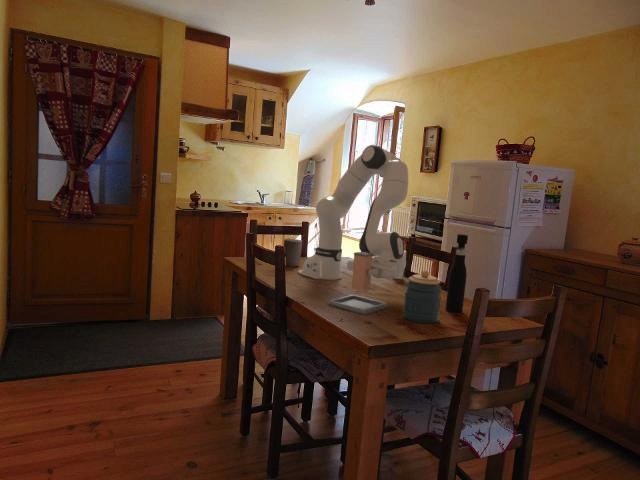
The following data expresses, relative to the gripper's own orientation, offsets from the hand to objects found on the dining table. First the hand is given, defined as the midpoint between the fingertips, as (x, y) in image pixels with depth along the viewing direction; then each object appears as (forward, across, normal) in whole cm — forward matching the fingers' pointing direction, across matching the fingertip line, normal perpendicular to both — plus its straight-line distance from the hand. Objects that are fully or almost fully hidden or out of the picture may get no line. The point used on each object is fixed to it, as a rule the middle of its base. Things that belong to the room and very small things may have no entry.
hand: (360, 270), depth 178 cm
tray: (-1, 0, +14) cm, 14 cm away
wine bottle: (-28, +27, +15) cm, 41 cm away
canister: (-7, +23, +14) cm, 28 cm away
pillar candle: (-40, -69, +14) cm, 81 cm away
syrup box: (-64, -18, +14) cm, 68 cm away
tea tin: (-1, 0, +7) cm, 7 cm away
